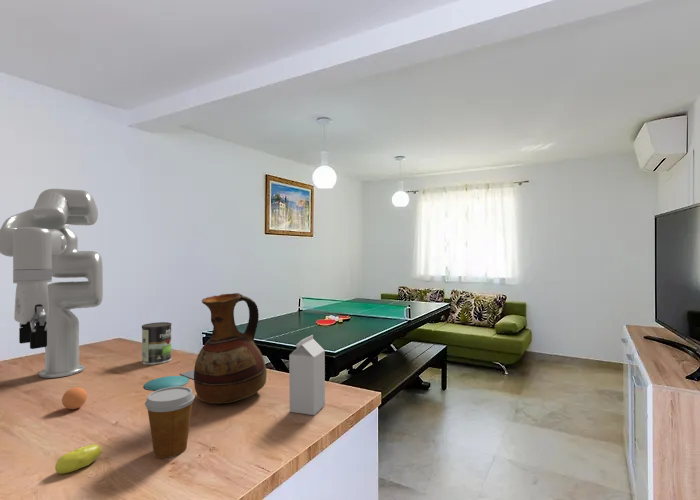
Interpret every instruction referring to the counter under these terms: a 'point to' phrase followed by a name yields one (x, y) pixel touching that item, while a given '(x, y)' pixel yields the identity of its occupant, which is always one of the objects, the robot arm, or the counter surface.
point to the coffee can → (156, 343)
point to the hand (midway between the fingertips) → (32, 345)
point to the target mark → (166, 382)
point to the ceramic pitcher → (229, 354)
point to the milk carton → (307, 377)
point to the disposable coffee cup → (169, 419)
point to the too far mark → (189, 374)
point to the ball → (74, 398)
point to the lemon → (77, 458)
